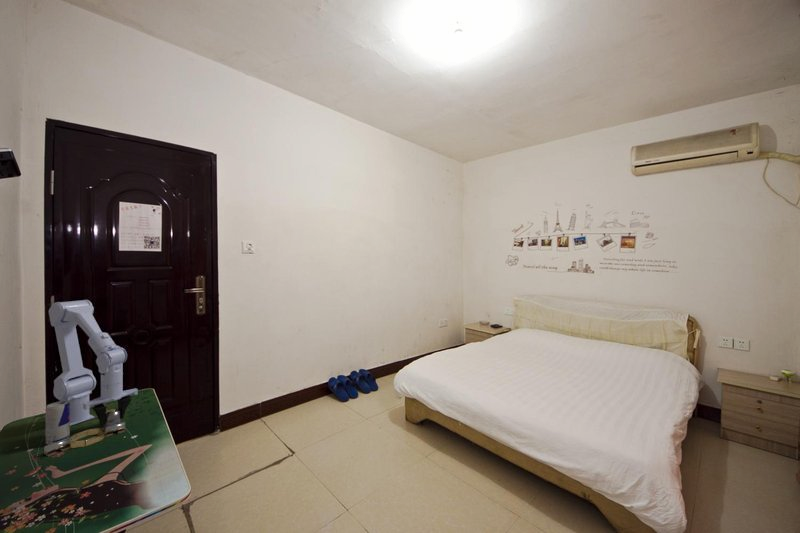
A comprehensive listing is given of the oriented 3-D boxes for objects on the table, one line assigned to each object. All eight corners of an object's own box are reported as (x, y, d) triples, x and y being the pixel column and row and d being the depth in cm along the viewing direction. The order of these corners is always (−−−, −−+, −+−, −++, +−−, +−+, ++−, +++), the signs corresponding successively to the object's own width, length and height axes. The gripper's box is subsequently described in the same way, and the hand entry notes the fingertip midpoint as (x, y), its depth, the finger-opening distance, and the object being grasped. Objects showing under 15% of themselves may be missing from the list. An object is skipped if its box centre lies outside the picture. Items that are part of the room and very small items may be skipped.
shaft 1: (66, 445, 99) (66, 436, 99) (70, 448, 97) (70, 439, 97) (43, 453, 94) (43, 444, 94) (47, 456, 93) (47, 447, 93)
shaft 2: (105, 437, 104) (105, 429, 104) (105, 433, 106) (105, 425, 106) (125, 431, 107) (125, 423, 107) (124, 427, 110) (124, 420, 110)
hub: (100, 426, 110) (100, 411, 110) (117, 421, 114) (117, 406, 114) (106, 429, 108) (106, 414, 108) (122, 424, 112) (122, 409, 112)
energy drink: (74, 436, 104) (74, 400, 104) (55, 445, 99) (55, 407, 99) (60, 435, 105) (60, 399, 105) (40, 444, 99) (40, 407, 99)
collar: (62, 443, 100) (62, 438, 100) (99, 430, 108) (99, 425, 108) (73, 450, 96) (73, 445, 96) (110, 436, 104) (110, 432, 104)
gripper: (89, 392, 103) (89, 433, 103) (141, 378, 116) (141, 415, 116) (80, 389, 106) (80, 428, 106) (132, 375, 119) (132, 411, 119)
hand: (112, 421), depth 111 cm, fingers closed on hub, 4 cm apart
